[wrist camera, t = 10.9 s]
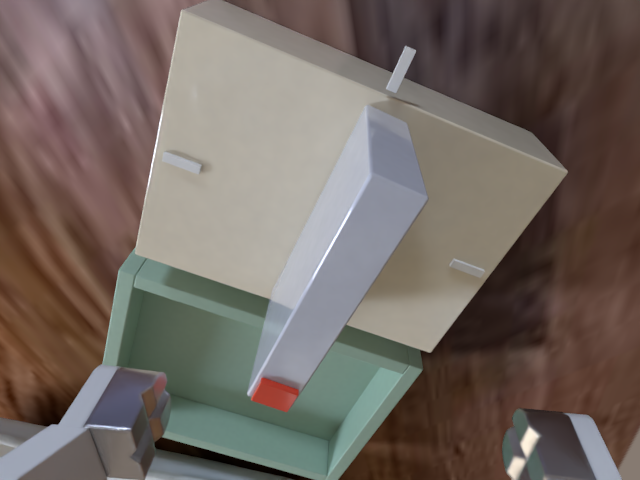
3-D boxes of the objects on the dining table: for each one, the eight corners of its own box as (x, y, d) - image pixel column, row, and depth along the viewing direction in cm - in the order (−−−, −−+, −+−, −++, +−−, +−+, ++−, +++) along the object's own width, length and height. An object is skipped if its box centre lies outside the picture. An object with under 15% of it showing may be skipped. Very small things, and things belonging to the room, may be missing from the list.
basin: (416, 326, 26) (423, 370, 23) (336, 442, 32) (334, 485, 30) (144, 233, 24) (118, 269, 21) (115, 377, 30) (92, 418, 27)
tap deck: (556, 97, 19) (603, 132, 15) (407, 318, 25) (415, 377, 22) (224, -51, 16) (189, -49, 13) (160, 233, 23) (126, 284, 20)
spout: (366, 102, 15) (370, 176, 10) (408, 123, 15) (432, 204, 11) (271, 291, 20) (244, 402, 15) (305, 304, 20) (289, 417, 15)
